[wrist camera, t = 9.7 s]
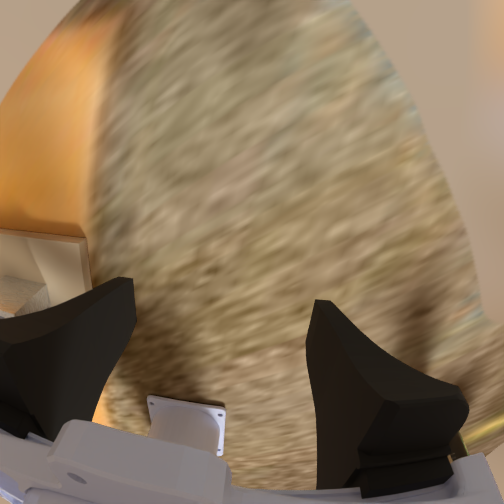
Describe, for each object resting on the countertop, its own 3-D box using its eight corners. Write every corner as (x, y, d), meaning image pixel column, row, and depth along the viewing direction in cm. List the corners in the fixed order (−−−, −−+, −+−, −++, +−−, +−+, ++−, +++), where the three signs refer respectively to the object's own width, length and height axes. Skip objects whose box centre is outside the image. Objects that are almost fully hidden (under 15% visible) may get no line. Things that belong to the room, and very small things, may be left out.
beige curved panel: (108, 370, 28) (88, 407, 23) (9, 340, 28) (-14, 366, 23) (86, 238, 23) (50, 265, 18) (-20, 226, 23) (-55, 245, 18)
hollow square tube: (59, 336, 25) (33, 369, 21) (18, 324, 25) (-9, 352, 21) (46, 284, 23) (13, 314, 19) (5, 275, 23) (-28, 300, 19)
